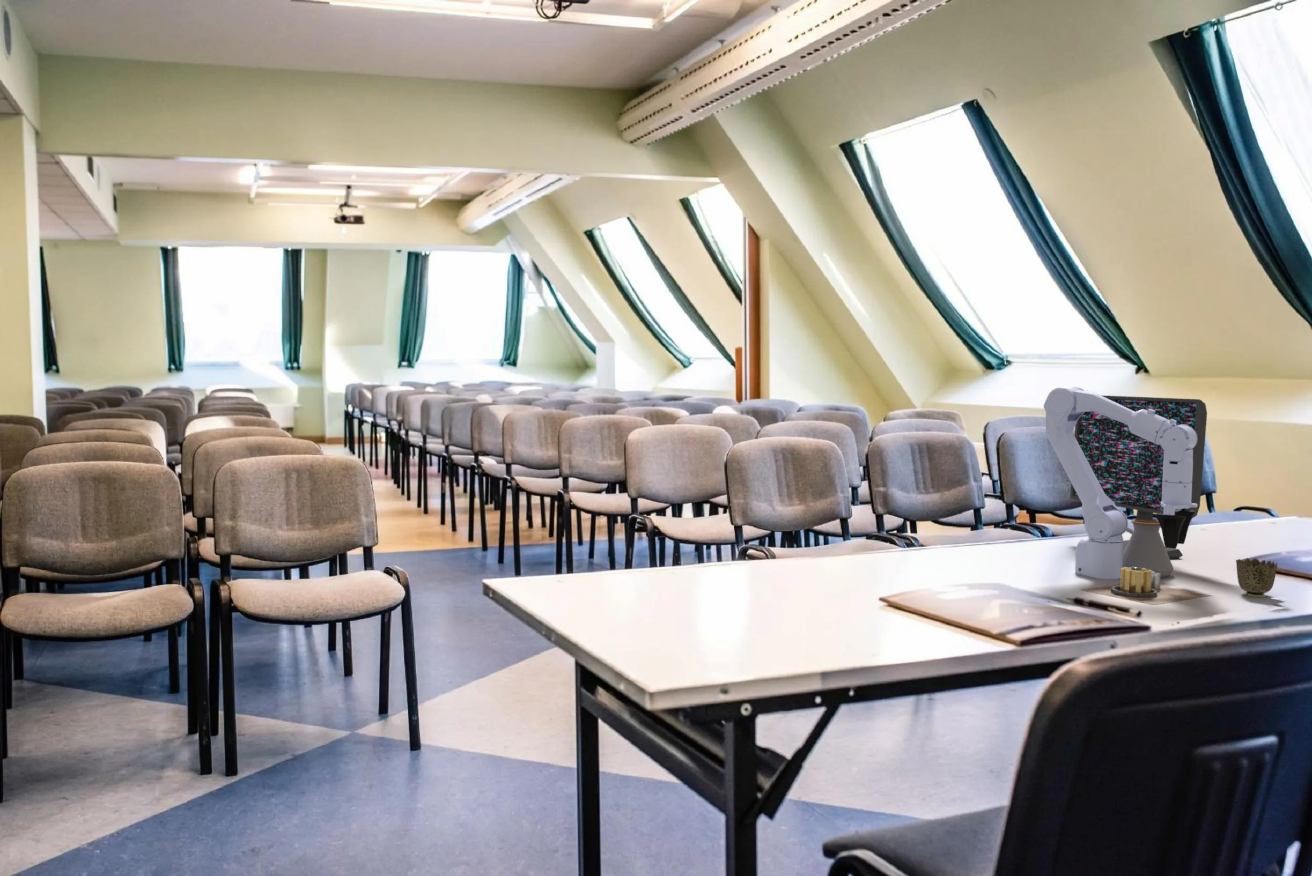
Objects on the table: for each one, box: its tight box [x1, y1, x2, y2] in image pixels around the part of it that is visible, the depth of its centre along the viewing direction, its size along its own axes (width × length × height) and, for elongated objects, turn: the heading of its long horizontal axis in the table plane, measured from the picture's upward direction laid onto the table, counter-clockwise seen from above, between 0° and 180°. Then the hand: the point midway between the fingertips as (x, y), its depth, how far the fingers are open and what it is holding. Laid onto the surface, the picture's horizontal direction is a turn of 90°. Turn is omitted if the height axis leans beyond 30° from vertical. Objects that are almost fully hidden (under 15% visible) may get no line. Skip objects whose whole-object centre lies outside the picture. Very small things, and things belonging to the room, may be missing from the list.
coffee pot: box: [1122, 519, 1174, 579], centre depth 258 cm, size 21×12×15 cm, turn 33°
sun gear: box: [1151, 571, 1161, 590], centre depth 239 cm, size 7×7×4 cm
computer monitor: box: [1069, 395, 1208, 560], centre depth 286 cm, size 44×16×40 cm, turn 17°
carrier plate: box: [1081, 583, 1213, 606], centre depth 233 cm, size 17×19×1 cm
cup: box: [1235, 557, 1278, 598], centre depth 231 cm, size 8×7×8 cm
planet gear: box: [1119, 567, 1152, 593], centre depth 231 cm, size 6×6×5 cm
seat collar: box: [1111, 586, 1157, 598], centre depth 231 cm, size 9×9×1 cm
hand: (1174, 545), depth 241 cm, fingers open, 7 cm apart
